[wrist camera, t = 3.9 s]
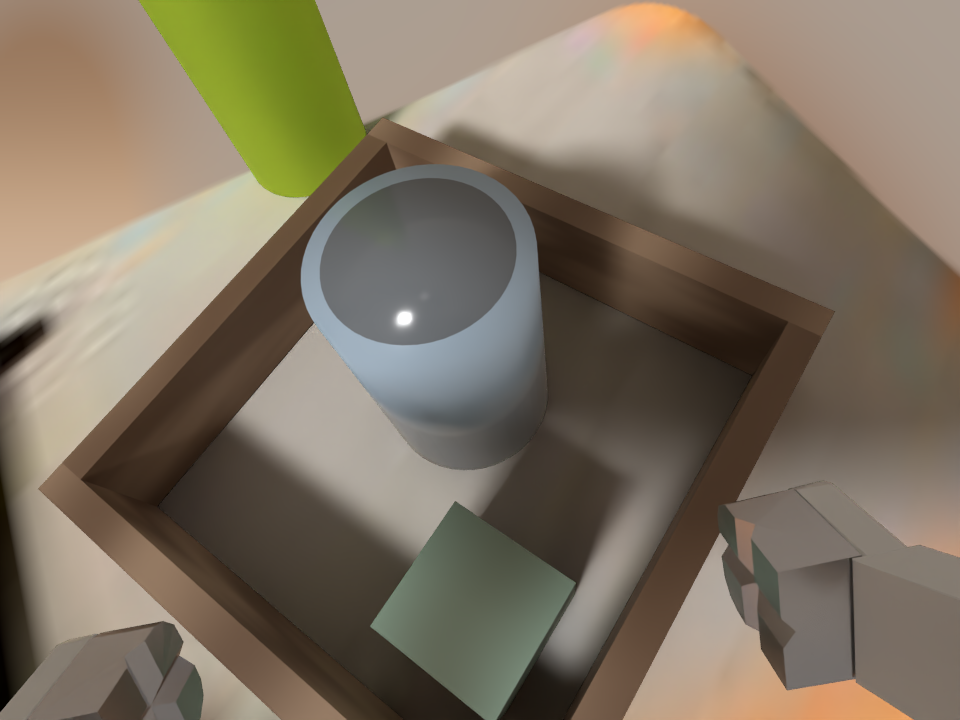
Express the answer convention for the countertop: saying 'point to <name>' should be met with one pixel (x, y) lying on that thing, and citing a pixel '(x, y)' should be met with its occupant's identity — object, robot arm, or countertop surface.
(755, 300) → the crate
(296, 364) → the countertop surface
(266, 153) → the soap dispenser
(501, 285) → the cup
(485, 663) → the block
